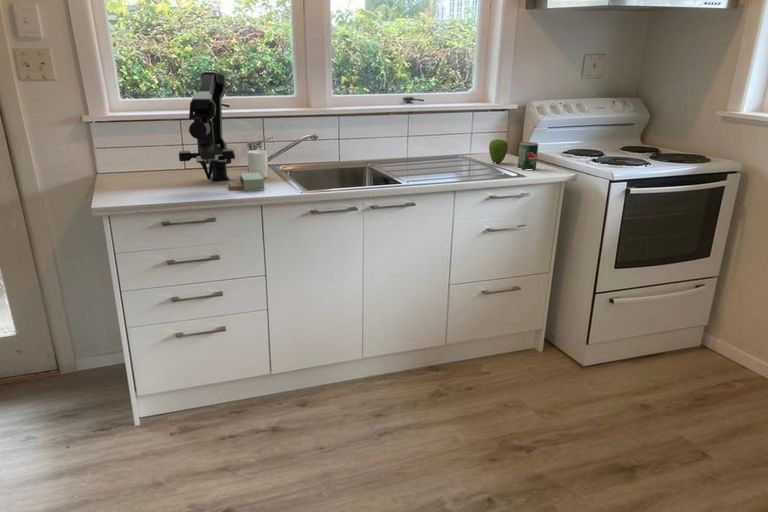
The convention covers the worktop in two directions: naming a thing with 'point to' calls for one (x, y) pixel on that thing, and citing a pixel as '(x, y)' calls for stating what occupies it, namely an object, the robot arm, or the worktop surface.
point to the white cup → (258, 162)
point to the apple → (498, 150)
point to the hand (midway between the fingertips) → (209, 179)
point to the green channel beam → (252, 181)
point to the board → (236, 185)
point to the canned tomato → (527, 155)
